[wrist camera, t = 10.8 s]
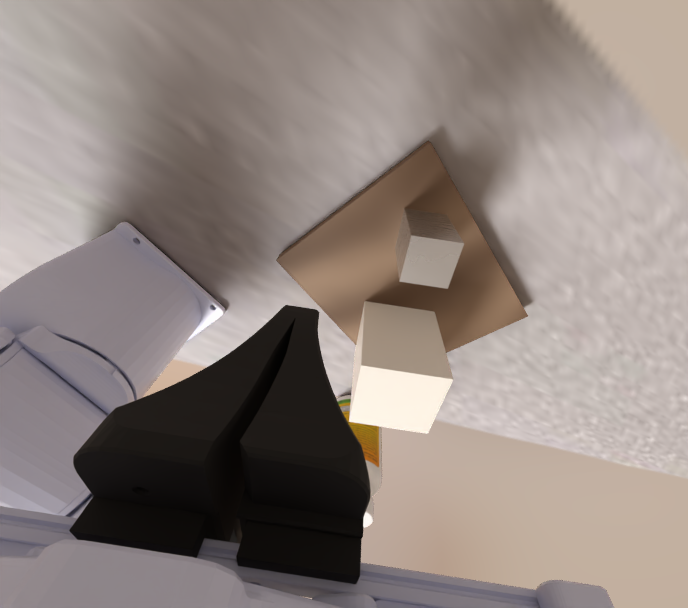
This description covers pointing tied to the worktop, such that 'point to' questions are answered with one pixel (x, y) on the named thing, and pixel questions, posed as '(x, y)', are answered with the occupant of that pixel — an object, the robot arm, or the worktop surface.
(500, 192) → the worktop surface
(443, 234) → the post
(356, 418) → the cream rectangular block
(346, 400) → the supplement bottle
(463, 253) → the board
